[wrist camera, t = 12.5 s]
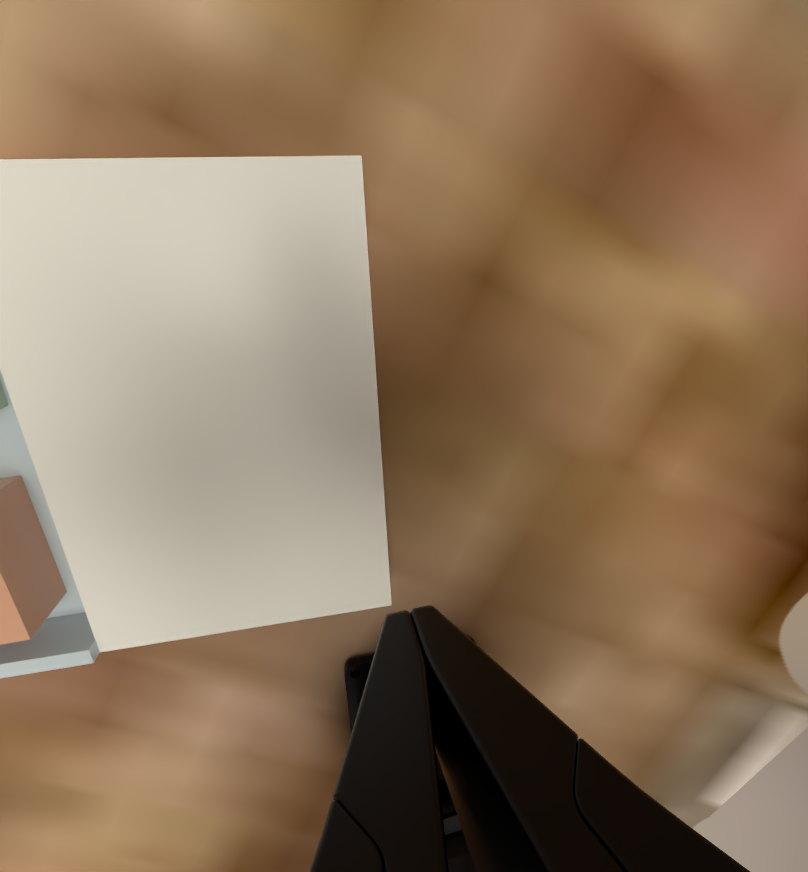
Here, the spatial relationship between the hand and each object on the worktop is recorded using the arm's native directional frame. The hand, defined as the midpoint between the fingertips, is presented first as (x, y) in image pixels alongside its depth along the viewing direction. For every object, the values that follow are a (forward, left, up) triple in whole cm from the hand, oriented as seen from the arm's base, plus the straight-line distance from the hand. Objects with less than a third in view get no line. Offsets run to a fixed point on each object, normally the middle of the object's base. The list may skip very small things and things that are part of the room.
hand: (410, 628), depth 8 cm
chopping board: (+1, +5, -11) cm, 12 cm away
